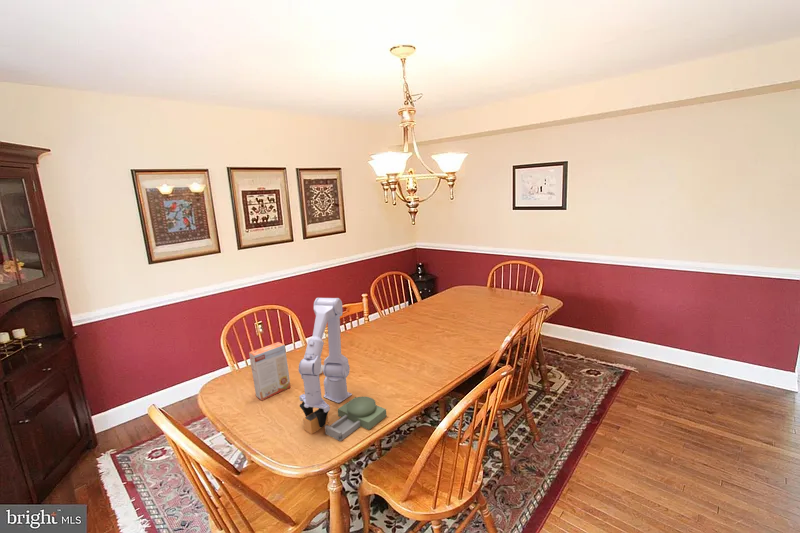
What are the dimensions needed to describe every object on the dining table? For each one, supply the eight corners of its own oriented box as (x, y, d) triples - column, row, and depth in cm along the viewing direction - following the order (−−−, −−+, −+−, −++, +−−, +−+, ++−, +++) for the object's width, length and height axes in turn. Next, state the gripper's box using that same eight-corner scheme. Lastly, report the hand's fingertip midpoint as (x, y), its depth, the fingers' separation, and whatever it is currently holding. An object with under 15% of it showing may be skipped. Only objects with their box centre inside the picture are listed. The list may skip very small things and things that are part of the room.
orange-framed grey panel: (304, 430, 140) (303, 417, 139) (321, 419, 146) (320, 407, 145) (311, 434, 138) (310, 421, 137) (328, 422, 144) (327, 410, 143)
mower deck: (317, 429, 140) (316, 417, 139) (357, 403, 156) (356, 391, 155) (349, 445, 130) (347, 432, 129) (387, 415, 146) (386, 403, 145)
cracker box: (284, 383, 175) (278, 340, 171) (291, 388, 171) (285, 344, 167) (255, 396, 166) (248, 351, 161) (261, 401, 162) (254, 355, 157)
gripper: (291, 389, 140) (295, 422, 143) (317, 400, 132) (321, 435, 134) (306, 380, 146) (310, 412, 149) (332, 391, 137) (336, 425, 140)
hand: (316, 422), depth 142 cm, fingers open, 6 cm apart
